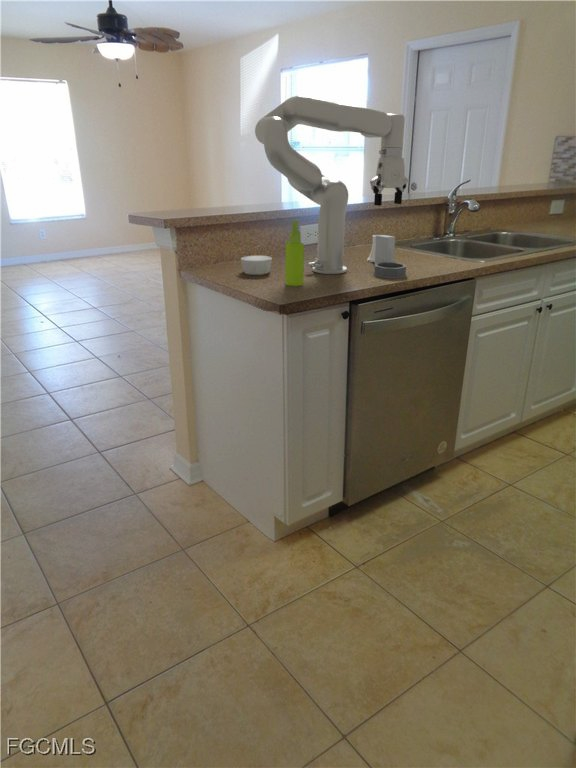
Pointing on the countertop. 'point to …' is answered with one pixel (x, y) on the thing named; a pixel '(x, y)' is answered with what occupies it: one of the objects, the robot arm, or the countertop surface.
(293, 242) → the soap dispenser
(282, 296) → the countertop surface
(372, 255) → the salt shaker
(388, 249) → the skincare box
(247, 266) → the ramekin
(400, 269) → the cap collar
